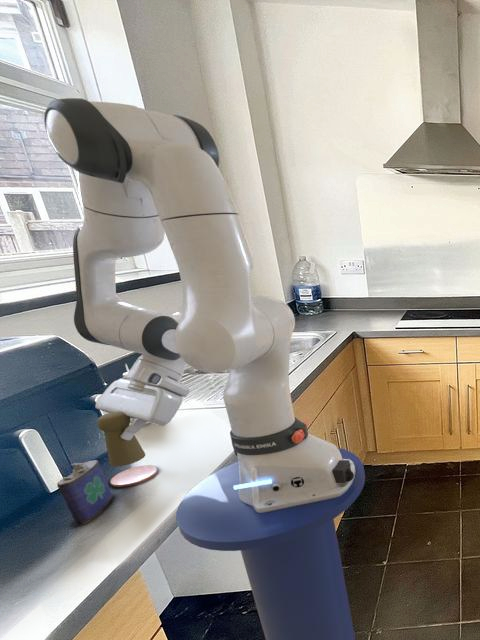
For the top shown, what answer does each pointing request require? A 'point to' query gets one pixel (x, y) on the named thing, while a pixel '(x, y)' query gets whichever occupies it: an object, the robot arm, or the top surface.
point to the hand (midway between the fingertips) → (115, 437)
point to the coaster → (133, 476)
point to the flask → (85, 491)
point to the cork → (119, 440)
